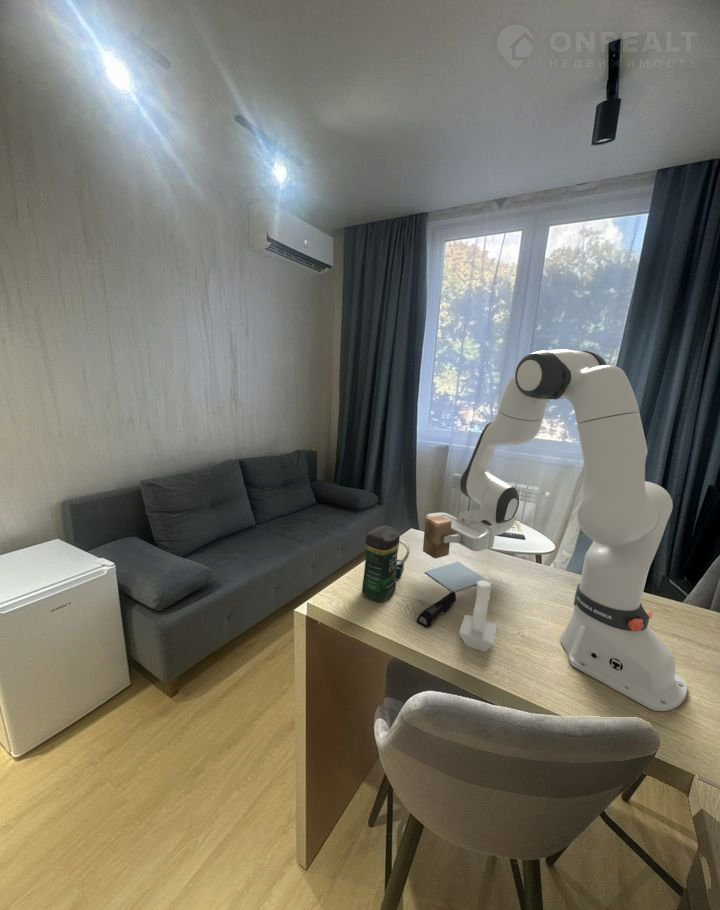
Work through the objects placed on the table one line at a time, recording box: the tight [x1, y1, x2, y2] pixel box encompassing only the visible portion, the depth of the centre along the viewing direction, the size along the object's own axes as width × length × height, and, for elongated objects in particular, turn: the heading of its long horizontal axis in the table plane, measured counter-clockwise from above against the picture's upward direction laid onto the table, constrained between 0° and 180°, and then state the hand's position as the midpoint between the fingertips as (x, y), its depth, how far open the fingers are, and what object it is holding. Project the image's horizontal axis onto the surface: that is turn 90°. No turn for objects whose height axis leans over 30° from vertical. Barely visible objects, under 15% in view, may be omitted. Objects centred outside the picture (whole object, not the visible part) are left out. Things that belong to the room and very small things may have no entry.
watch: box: [396, 538, 411, 580], centre depth 112 cm, size 6×8×11 cm
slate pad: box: [424, 561, 483, 593], centre depth 112 cm, size 12×14×1 cm
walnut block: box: [422, 515, 452, 560], centre depth 103 cm, size 5×5×10 cm
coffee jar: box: [361, 524, 401, 602], centre depth 100 cm, size 10×8×19 cm
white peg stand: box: [458, 575, 498, 653], centre depth 83 cm, size 7×9×15 cm
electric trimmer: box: [416, 591, 457, 629], centre depth 95 cm, size 4×15×3 cm, turn 137°
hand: (434, 534), depth 102 cm, fingers closed on walnut block, 5 cm apart
